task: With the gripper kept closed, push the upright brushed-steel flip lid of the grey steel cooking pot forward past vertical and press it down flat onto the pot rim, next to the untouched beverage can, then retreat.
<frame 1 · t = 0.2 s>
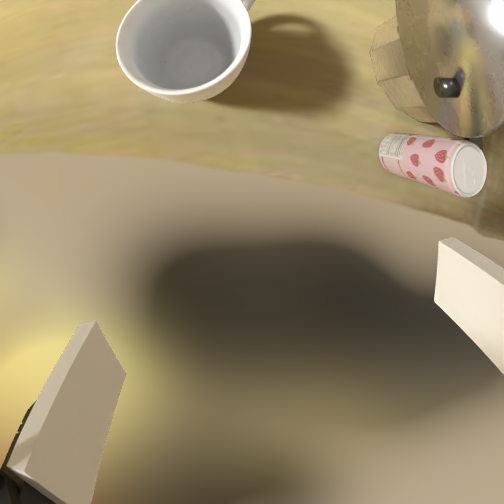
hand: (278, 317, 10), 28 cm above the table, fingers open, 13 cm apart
lid: (443, 31, 14), point 19 cm above the table, hinge at 100.0°
pot: (420, 67, 31), on the table
beverage can: (394, 153, 36), on the table
mug: (202, 60, 30), on the table
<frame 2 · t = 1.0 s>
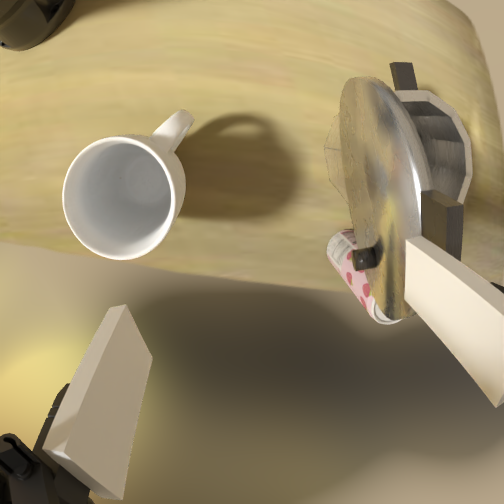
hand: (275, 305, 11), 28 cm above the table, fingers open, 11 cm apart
lid: (369, 202, 19), point 19 cm above the table, hinge at 99.1°
pot: (381, 154, 37), on the table
beverage can: (344, 247, 41), on the table
mug: (155, 170, 35), on the table
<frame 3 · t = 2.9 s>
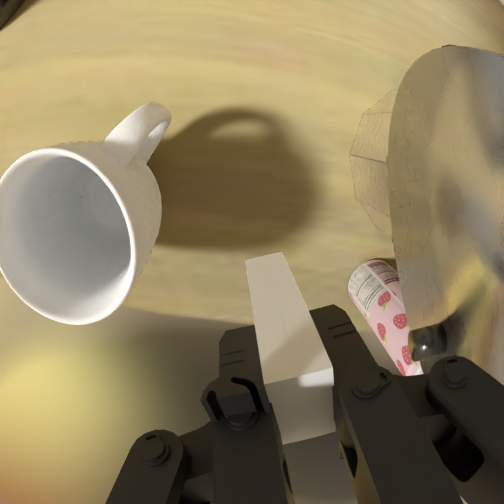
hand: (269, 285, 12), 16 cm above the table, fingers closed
lid: (455, 266, 10), point 19 cm above the table, hinge at 99.1°
pot: (418, 165, 27), on the table
beverage can: (369, 280, 32), on the table
mug: (126, 185, 26), on the table
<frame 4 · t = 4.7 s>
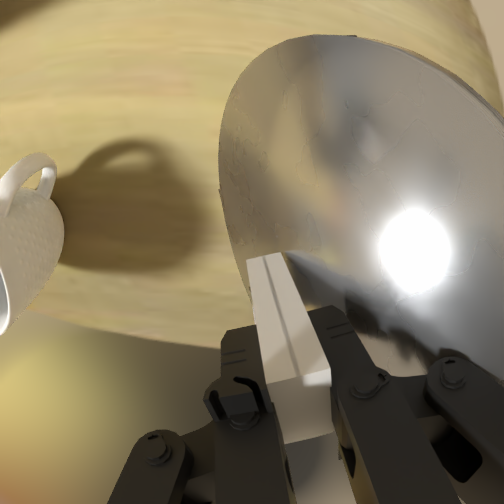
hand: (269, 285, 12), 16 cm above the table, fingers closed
lid: (323, 308, 10), point 19 cm above the table, hinge at 68.4°, touching gripper
mug: (44, 216, 27), on the table
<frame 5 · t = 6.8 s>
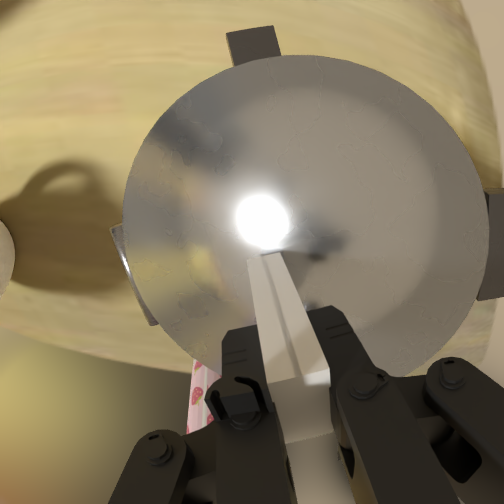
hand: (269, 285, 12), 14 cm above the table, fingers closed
lid: (315, 273, 12), point 14 cm above the table, hinge at 18.5°, touching gripper
pot: (272, 196, 25), on the table
beverage can: (226, 328, 30), on the table
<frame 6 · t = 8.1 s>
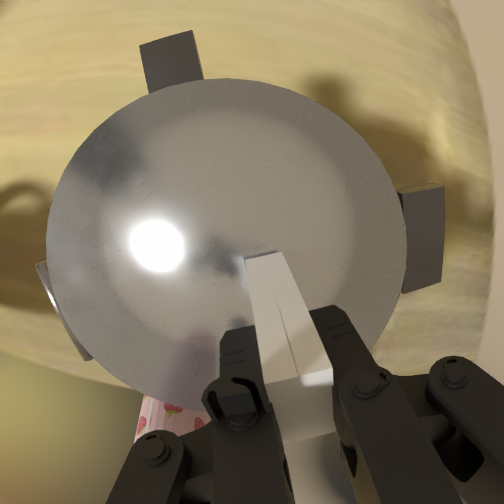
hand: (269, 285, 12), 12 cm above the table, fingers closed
lid: (239, 289, 12), point 11 cm above the table, hinge at 1.6°, touching gripper
pot: (223, 217, 23), on the table
beverage can: (185, 351, 28), on the table
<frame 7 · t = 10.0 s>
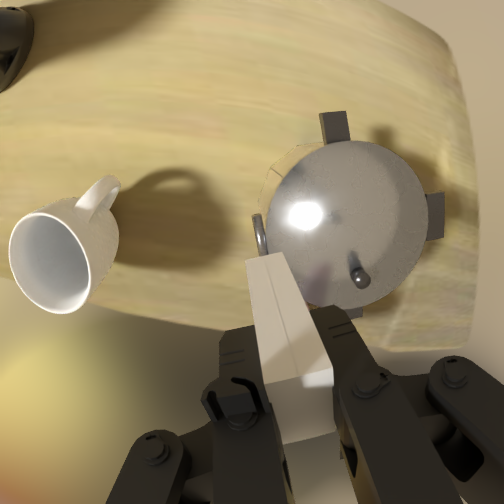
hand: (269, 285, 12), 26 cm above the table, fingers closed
lid: (363, 231, 27), point 11 cm above the table, hinge at 1.6°
pot: (322, 205, 38), on the table
mug: (99, 221, 37), on the table
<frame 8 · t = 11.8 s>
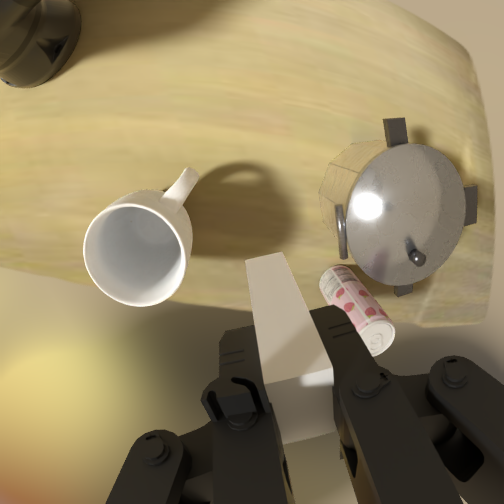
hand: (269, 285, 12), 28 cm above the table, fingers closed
lid: (420, 218, 30), point 11 cm above the table, hinge at 1.6°
pot: (372, 196, 41), on the table
beverage can: (335, 280, 46), on the table
mug: (163, 213, 40), on the table
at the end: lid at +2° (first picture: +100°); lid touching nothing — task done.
